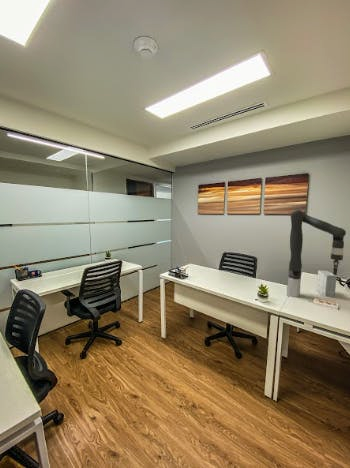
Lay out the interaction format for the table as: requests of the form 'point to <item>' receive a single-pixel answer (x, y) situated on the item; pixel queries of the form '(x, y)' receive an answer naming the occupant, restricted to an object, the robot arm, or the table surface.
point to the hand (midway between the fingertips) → (335, 273)
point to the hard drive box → (326, 284)
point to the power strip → (325, 304)
